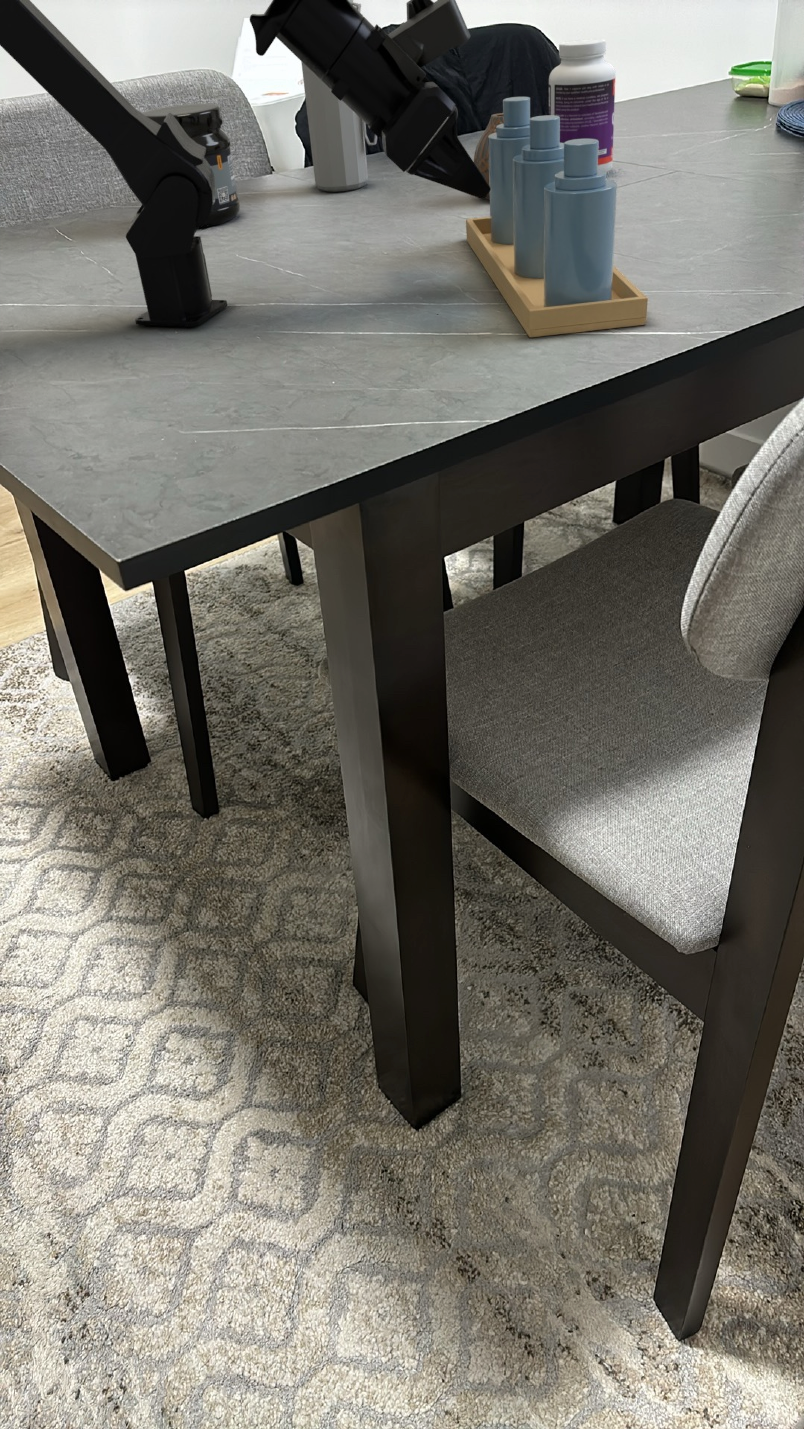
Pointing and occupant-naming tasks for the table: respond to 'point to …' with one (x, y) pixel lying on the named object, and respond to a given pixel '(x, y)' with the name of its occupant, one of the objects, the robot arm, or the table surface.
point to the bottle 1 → (506, 165)
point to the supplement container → (208, 153)
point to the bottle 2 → (579, 229)
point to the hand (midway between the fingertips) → (478, 183)
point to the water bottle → (335, 136)
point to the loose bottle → (534, 193)
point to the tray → (528, 293)
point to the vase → (486, 147)
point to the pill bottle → (585, 96)
